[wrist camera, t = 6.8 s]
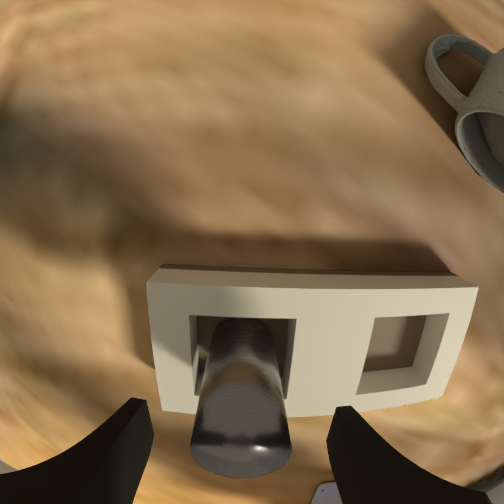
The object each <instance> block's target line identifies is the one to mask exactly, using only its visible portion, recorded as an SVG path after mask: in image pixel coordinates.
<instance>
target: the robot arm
mask: <svg viewBox="0 0 504 504" xmlns="http://www.w3.org/2000/svg"><path fill="white" fill-rule="evenodd" d="M153 437H154V432H153V428H152V424H151V419H150V415H149V411H148V406H147V401H146V400H143V399H137V398H130V399H129V400H128V401H127V402H126V403H125V404H124V405H123V406H122V407H121V408H119V409H118V410H117V411H116V412H115V413H114V414H113V415H112V416H111V417H110V418H109V419H107V420H106V421H105V422H104V423H103V424H102V425H100V426H99V427H98V428H97V429H96V430H94V431H93V432H92V433H91V434H89V435H88V436H87V437H85V438H84V439H83V440H81V441H80V442H78V443H77V444H75V445H74V446H72V447H71V448H69V449H68V450H66V451H64V452H63V453H61V454H59V455H57V456H55V457H53V458H51V459H48V460H46V461H44V462H42V463H39V464H37V465H34V466H31V467H28V468H25V469H22V470H18V471H15V472H10V473H5V474H0V504H132V503H133V500H134V497H135V494H136V491H137V488H138V485H139V483H140V480H141V477H142V475H143V472H144V469H145V466H146V464H147V461H148V458H149V455H150V451H151V447H152V442H153ZM326 441H327V448H328V455H329V461H330V464H331V468H332V471H333V475H334V478H335V481H336V482H330V483H323V484H320V485H319V486H318V488H317V491H316V493H315V495H314V497H313V500H312V502H311V504H492V503H491V501H490V499H489V498H488V496H487V495H486V493H484V492H480V491H476V490H472V489H468V488H464V487H461V486H459V485H456V484H453V483H450V482H448V481H446V480H443V479H441V478H439V477H437V476H435V475H433V474H431V473H429V472H427V471H426V470H424V469H422V468H421V467H419V466H418V465H416V464H415V463H413V462H411V461H410V460H408V459H407V458H406V457H404V456H403V455H402V454H401V453H399V452H398V451H397V450H396V449H394V448H393V447H392V446H391V445H390V444H389V443H388V442H386V441H385V440H384V439H383V438H382V437H381V436H380V435H379V434H378V433H377V432H376V431H375V430H374V429H373V428H372V427H371V426H370V425H369V424H368V423H367V422H366V421H365V420H364V419H363V418H362V417H361V415H360V414H359V413H358V412H357V411H356V410H355V409H354V408H353V407H352V406H340V407H336V409H335V413H334V416H333V420H332V423H331V427H330V430H329V433H328V437H327V440H326Z"/></svg>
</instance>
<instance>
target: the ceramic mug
mask: <svg viewBox="0 0 504 504" xmlns="http://www.w3.org/2000/svg"><path fill="white" fill-rule="evenodd" d="M449 49H453V50H458V51H461V52H463V53H465V54H468V55H470V56H472V57H473V58H475V59H476V60H478V61H479V62H481V63H482V64H483V65H485V67H484V69H483V71H482V73H481V74H480V78H479V80H478V81H477V83H476V85H475V86H474V87H473V89H472V90H471V92H470V94H469V96H468V97H466V96H464V95H463V94H461V93H460V91H459V90H458V89H457V88H456V87H455V86H454V85H453V84H452V83H451V82H450V81H449V80H448V79H447V77H446V76H445V75H444V74H443V73H442V71H441V70H440V68H439V66H438V64H437V61H436V60H437V58H438V57H439V56H440V55H442V54H443V53H447V52H448V51H449ZM425 71H426V73H427V76H428V79H429V81H430V82H431V84H432V86H433V87H434V89H435V90H436V91H437V92H438V93H439V94H440V95H441V96H442V97H443V98H444V99H445V101H446V102H447V103H448V104H449V105H450V106H452V107H453V108H454V109H455V110H456V111H457V112H458V115H457V118H456V120H455V136H456V139H457V143H458V145H459V147H460V149H461V151H462V153H463V154H464V156H465V157H466V159H467V160H468V162H469V163H470V164H471V165H472V167H473V168H474V169H475V170H476V171H477V172H478V173H479V174H480V175H481V176H482V177H483V178H484V179H485V180H486V181H487V182H489V183H490V184H491V185H493V186H494V187H495V188H496V189H498V190H499V191H501V192H502V193H504V48H503V49H501V50H499V51H498V52H497V53H492V52H490V51H489V50H488V49H486V48H485V47H484V46H482V45H481V44H479V43H477V42H476V41H474V40H472V39H470V38H467V37H465V36H462V35H457V34H444V35H441V36H439V37H437V38H435V39H434V40H433V41H432V42H431V43H430V45H429V47H428V49H427V54H426V58H425Z"/></svg>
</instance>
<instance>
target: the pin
mask: <svg viewBox="0 0 504 504" xmlns="http://www.w3.org/2000/svg"><path fill="white" fill-rule="evenodd" d="M190 452H191V455H192V457H193V458H194V460H195V461H196V462H197V463H198V464H199V465H200V466H202V467H203V468H205V469H207V470H208V471H210V472H213V473H215V474H218V475H222V476H226V477H233V478H252V477H258V476H262V475H266V474H269V473H271V472H273V471H276V470H277V469H279V468H280V467H282V466H283V465H284V464H285V463H286V462H287V461H288V459H289V458H290V455H291V452H292V447H291V441H290V435H289V429H288V423H287V416H286V410H285V404H284V398H283V392H282V386H281V380H280V374H279V368H278V362H277V356H276V350H275V345H274V339H273V334H272V332H271V330H270V328H269V327H268V326H267V325H266V324H265V323H264V322H263V321H262V320H260V319H258V318H243V317H229V318H226V319H224V320H223V321H221V322H220V323H219V324H218V325H217V326H216V328H215V329H214V331H213V334H212V337H211V342H210V347H209V352H208V357H207V362H206V366H205V371H204V376H203V381H202V386H201V391H200V397H199V402H198V407H197V412H196V417H195V422H194V428H193V433H192V438H191V444H190Z"/></svg>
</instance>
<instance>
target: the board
mask: <svg viewBox="0 0 504 504" xmlns="http://www.w3.org/2000/svg"><path fill="white" fill-rule="evenodd" d="M478 288H479V287H478V286H476V285H474V284H472V283H470V282H469V281H467V280H465V279H463V278H461V277H459V276H458V275H456V274H454V273H452V272H386V271H338V270H300V269H268V268H240V267H214V266H190V265H168V264H163V265H162V266H161V267H160V268H159V269H158V270H157V271H156V272H155V273H154V274H153V275H152V276H151V277H150V278H149V279H148V280H147V281H146V291H147V303H148V314H149V324H150V333H151V341H152V349H153V357H154V364H155V371H156V377H157V383H158V389H159V395H160V401H161V406H162V410H163V411H171V412H179V413H188V414H196V412H197V407H198V402H199V397H200V391H201V386H202V381H203V376H204V371H205V366H206V362H207V357H208V352H209V347H210V342H211V337H212V334H213V331H214V329H215V328H216V326H217V325H218V324H219V323H220V322H221V321H223V320H224V319H226V318H229V317H243V318H258V319H260V320H262V321H263V322H264V323H265V324H266V325H267V326H268V327H269V328H270V330H271V332H272V334H273V339H274V345H275V350H276V356H277V362H278V368H279V374H280V380H281V386H282V392H283V398H284V404H285V410H286V416H287V417H307V416H323V415H334V413H335V409H336V407H340V406H352V407H353V408H354V409H355V410H356V411H357V412H363V411H370V410H377V409H384V408H390V407H396V406H402V405H407V404H412V403H417V402H422V401H426V400H431V399H435V398H439V397H442V394H443V392H444V390H445V388H446V385H447V383H448V381H449V378H450V376H451V373H452V371H453V368H454V366H455V363H456V360H457V358H458V355H459V352H460V349H461V346H462V344H463V341H464V338H465V334H466V331H467V328H468V325H469V322H470V318H471V315H472V311H473V308H474V304H475V300H476V296H477V292H478Z"/></svg>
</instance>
